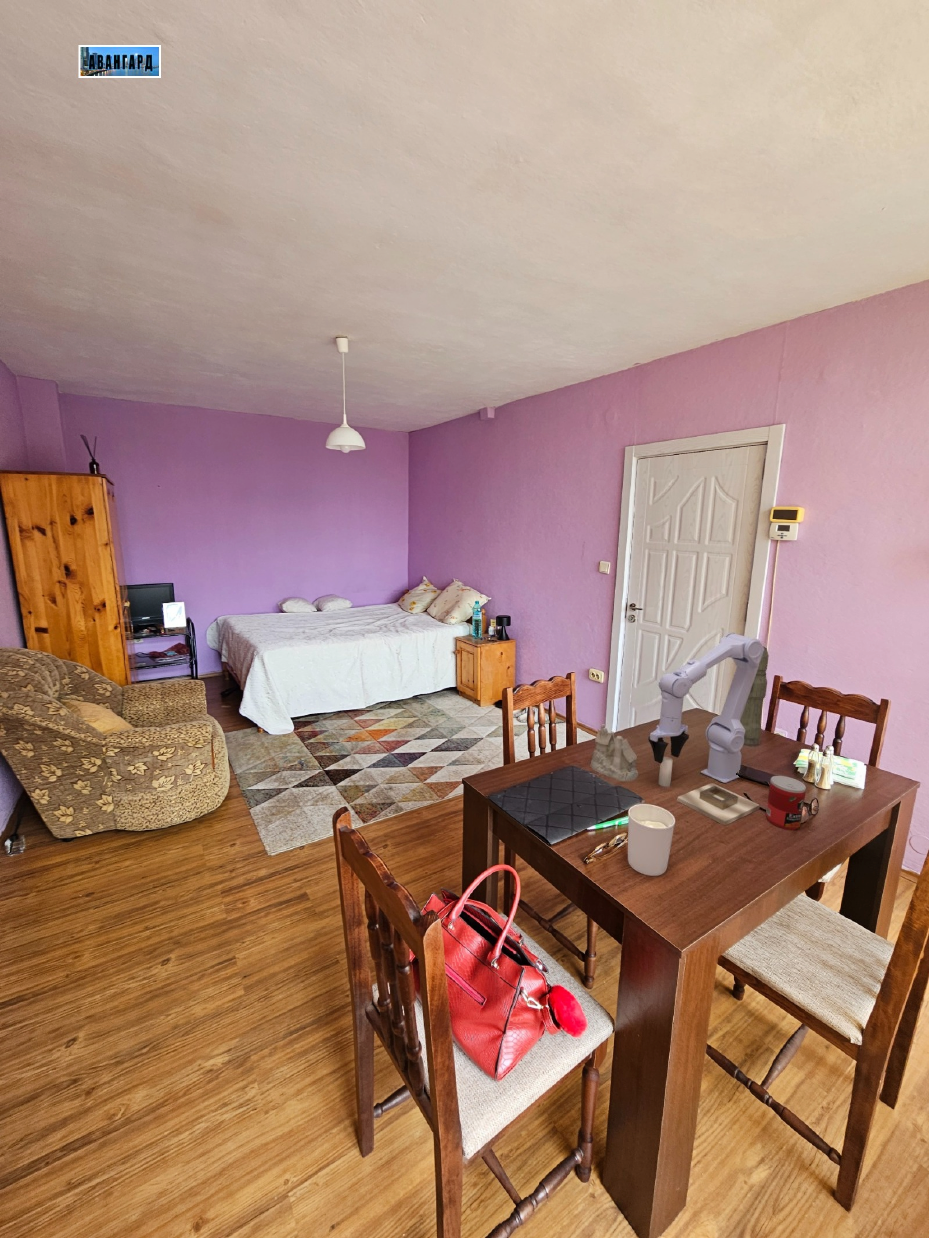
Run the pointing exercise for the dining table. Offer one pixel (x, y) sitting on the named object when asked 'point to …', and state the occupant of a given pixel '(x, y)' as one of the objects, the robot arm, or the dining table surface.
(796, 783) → the canned food
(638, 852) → the candle holder
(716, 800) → the candle stand
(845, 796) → the dining table surface
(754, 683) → the green stone statue
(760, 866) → the dining table surface
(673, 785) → the dining table surface
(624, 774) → the ceramic cottage
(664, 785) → the ivory candle
